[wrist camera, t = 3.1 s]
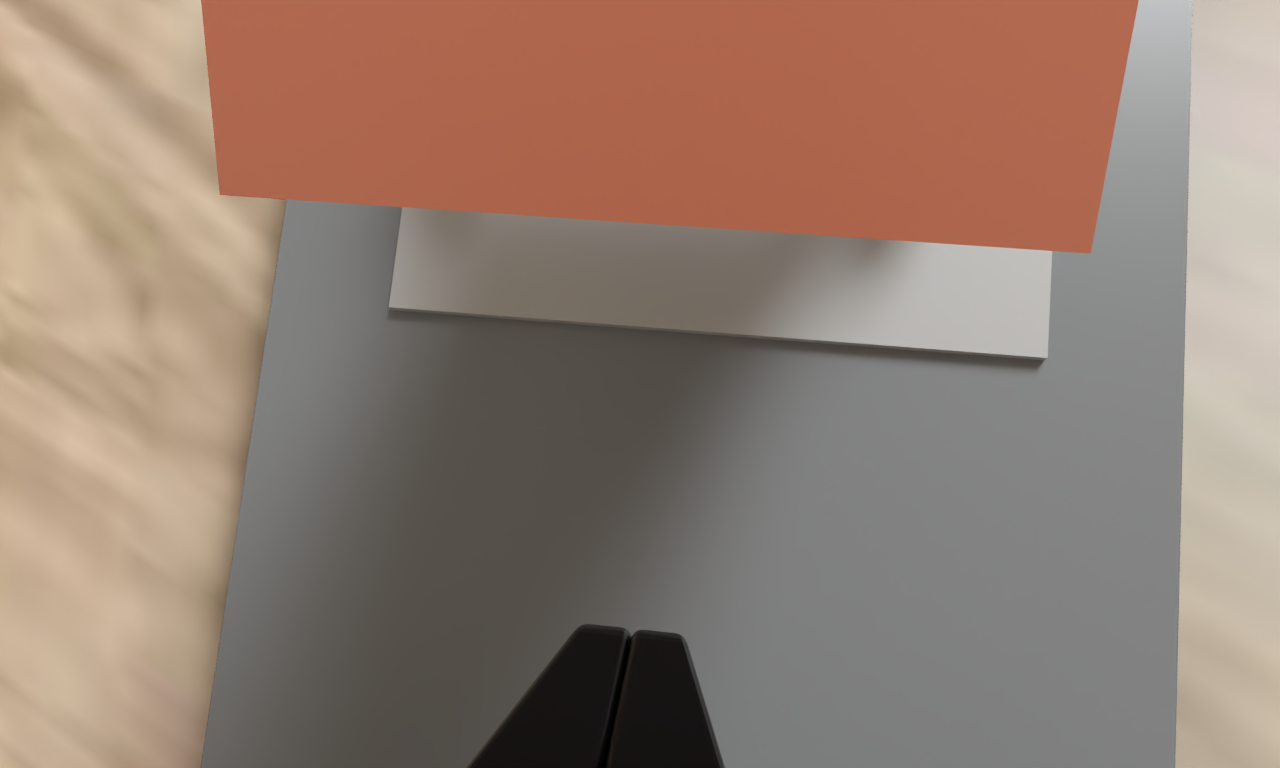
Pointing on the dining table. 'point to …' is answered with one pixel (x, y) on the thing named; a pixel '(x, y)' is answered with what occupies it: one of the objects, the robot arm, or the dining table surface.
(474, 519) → the switch panel
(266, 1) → the switch lever
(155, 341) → the dining table surface
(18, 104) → the dining table surface
